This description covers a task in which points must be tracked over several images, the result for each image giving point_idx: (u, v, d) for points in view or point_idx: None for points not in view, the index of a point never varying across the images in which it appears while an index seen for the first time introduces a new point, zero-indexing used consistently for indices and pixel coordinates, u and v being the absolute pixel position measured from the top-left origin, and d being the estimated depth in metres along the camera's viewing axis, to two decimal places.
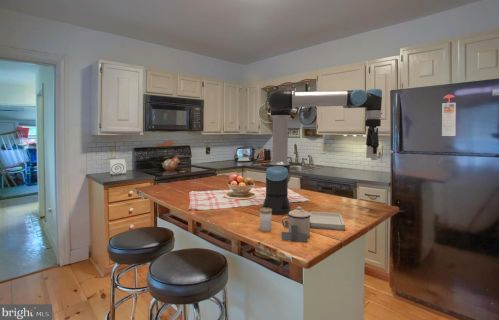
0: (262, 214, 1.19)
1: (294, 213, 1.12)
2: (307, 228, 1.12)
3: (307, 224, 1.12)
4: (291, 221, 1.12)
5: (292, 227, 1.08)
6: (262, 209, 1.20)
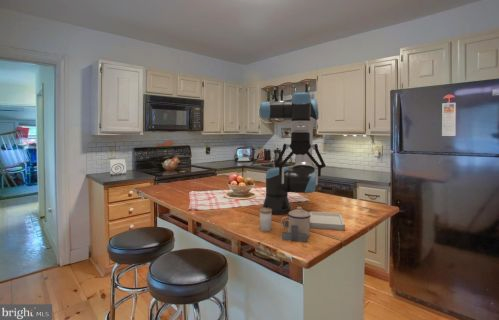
0: (262, 214, 1.19)
1: (294, 213, 1.12)
2: (307, 228, 1.12)
3: (307, 224, 1.12)
4: (291, 221, 1.12)
5: (292, 227, 1.08)
6: (262, 209, 1.20)
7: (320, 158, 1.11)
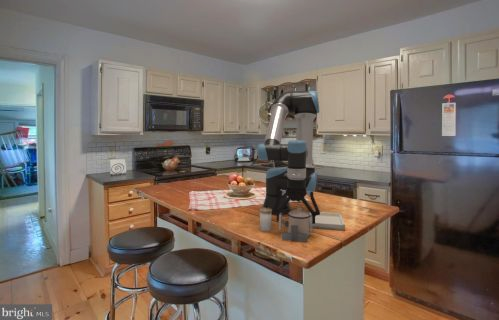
0: (262, 214, 1.19)
1: (294, 213, 1.12)
2: (307, 228, 1.12)
3: (307, 224, 1.12)
4: (291, 221, 1.12)
5: (292, 227, 1.08)
6: (262, 209, 1.20)
7: (315, 206, 1.12)
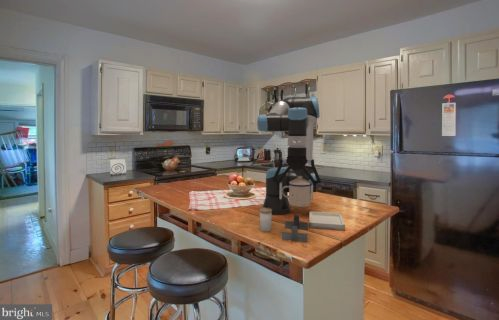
0: (262, 214, 1.19)
1: (295, 181, 1.11)
2: (308, 196, 1.11)
3: (307, 192, 1.11)
4: (292, 190, 1.11)
5: (292, 227, 1.08)
6: (262, 209, 1.20)
7: (316, 174, 1.11)
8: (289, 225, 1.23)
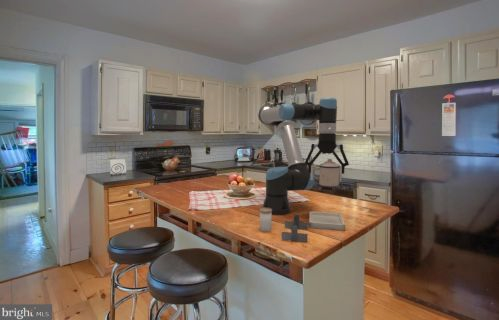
0: (262, 214, 1.19)
1: (325, 164, 1.24)
2: (337, 177, 1.24)
3: (337, 173, 1.24)
4: (322, 171, 1.24)
5: (292, 227, 1.08)
6: (262, 209, 1.20)
7: (344, 157, 1.24)
8: (289, 225, 1.23)
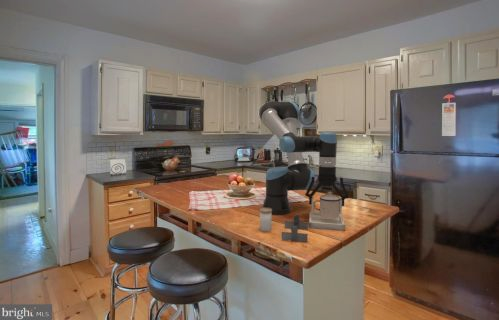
0: (262, 214, 1.19)
1: (326, 197, 1.26)
2: (337, 210, 1.26)
3: (337, 206, 1.26)
4: (323, 204, 1.26)
5: (292, 227, 1.08)
6: (262, 209, 1.20)
7: (344, 190, 1.26)
8: (289, 225, 1.23)
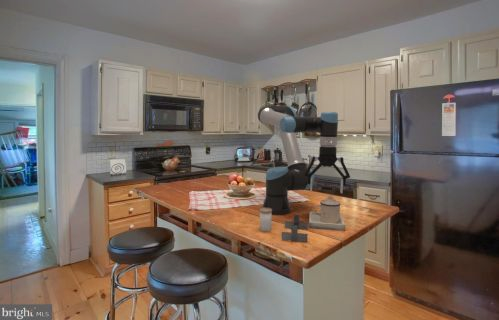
0: (262, 214, 1.19)
1: (326, 202, 1.27)
2: (338, 215, 1.26)
3: (337, 211, 1.26)
4: (323, 209, 1.27)
5: (292, 227, 1.08)
6: (262, 209, 1.20)
7: (345, 170, 1.25)
8: (289, 225, 1.23)
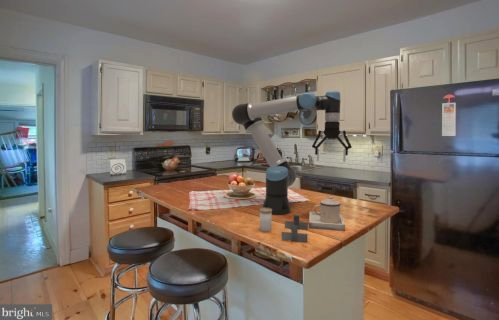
0: (262, 214, 1.19)
1: (326, 202, 1.27)
2: (338, 215, 1.26)
3: (337, 211, 1.26)
4: (323, 209, 1.27)
5: (292, 227, 1.08)
6: (262, 209, 1.20)
7: (347, 141, 1.45)
8: (289, 225, 1.23)
